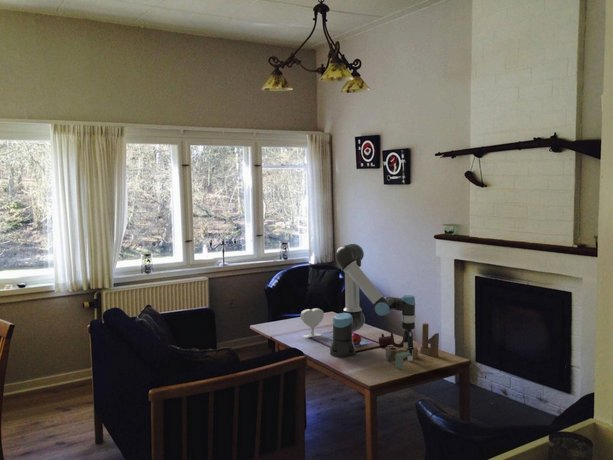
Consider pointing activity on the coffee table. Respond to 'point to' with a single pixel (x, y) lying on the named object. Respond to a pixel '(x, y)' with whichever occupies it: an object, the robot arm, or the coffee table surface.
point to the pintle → (388, 355)
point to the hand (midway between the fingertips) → (407, 357)
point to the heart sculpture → (312, 319)
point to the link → (399, 350)
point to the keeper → (400, 359)
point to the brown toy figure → (389, 341)
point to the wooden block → (429, 342)
